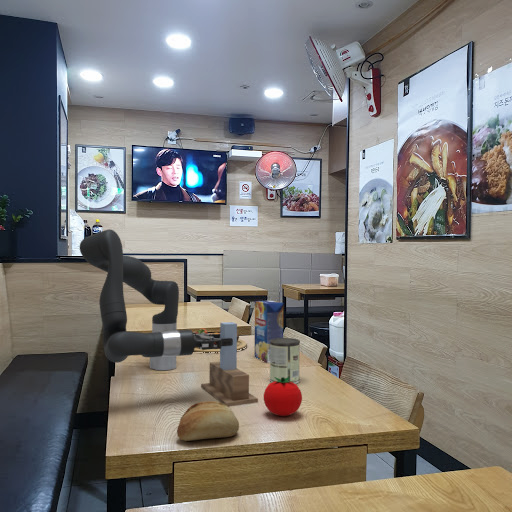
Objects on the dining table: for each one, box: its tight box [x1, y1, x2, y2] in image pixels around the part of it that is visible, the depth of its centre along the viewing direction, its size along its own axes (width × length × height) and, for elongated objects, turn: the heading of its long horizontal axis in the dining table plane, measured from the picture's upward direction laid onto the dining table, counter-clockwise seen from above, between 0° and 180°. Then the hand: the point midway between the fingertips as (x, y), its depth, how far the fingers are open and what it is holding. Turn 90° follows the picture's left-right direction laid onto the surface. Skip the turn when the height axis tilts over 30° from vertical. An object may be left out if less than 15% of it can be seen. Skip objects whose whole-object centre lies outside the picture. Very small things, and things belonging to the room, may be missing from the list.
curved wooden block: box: [200, 361, 259, 407], centre depth 145 cm, size 22×10×8 cm, turn 26°
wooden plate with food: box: [194, 327, 248, 353], centre depth 221 cm, size 32×32×8 cm
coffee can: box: [269, 337, 301, 385], centre depth 161 cm, size 10×10×14 cm
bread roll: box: [176, 400, 240, 442], centre depth 110 cm, size 10×15×8 cm, turn 114°
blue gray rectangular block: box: [219, 321, 238, 370], centre depth 145 cm, size 4×4×14 cm
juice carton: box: [254, 300, 284, 364], centre depth 195 cm, size 12×8×24 cm, turn 25°
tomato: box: [263, 377, 303, 417], centre depth 126 cm, size 10×10×10 cm
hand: (227, 339), depth 145 cm, fingers open, 8 cm apart
